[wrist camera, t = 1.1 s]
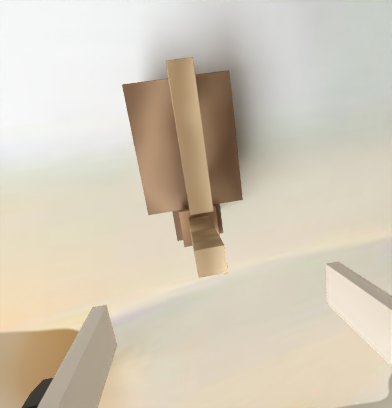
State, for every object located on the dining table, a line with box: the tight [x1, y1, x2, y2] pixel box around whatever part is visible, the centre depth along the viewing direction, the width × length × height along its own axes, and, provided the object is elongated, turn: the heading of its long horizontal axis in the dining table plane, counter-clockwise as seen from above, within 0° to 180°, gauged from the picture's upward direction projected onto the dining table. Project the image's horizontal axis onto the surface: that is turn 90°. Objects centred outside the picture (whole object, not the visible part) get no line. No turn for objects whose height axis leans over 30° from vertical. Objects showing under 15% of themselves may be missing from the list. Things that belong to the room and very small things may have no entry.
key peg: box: [179, 205, 228, 278], centre depth 26 cm, size 4×4×16 cm
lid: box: [122, 57, 243, 241], centre depth 23 cm, size 12×19×10 cm, turn 8°
